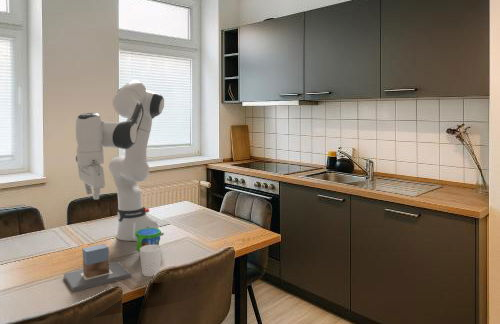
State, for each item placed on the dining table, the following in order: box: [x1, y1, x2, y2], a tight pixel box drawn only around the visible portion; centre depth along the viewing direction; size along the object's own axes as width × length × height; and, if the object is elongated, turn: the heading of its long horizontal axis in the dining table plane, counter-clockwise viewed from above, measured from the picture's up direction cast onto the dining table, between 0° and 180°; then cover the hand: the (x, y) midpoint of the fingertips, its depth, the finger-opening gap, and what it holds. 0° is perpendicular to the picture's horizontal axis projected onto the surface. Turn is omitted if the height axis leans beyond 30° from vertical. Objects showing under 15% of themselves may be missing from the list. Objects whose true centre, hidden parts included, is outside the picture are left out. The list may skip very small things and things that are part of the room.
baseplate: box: [63, 261, 131, 293], centre depth 148 cm, size 20×14×2 cm
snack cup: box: [135, 228, 161, 253], centre depth 171 cm, size 16×10×10 cm
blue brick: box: [81, 243, 110, 265], centre depth 147 cm, size 8×4×5 cm, turn 129°
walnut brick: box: [82, 259, 110, 278], centre depth 148 cm, size 8×4×5 cm, turn 127°
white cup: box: [139, 244, 162, 277], centre depth 152 cm, size 8×8×10 cm
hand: (92, 196), depth 144 cm, fingers open, 8 cm apart
